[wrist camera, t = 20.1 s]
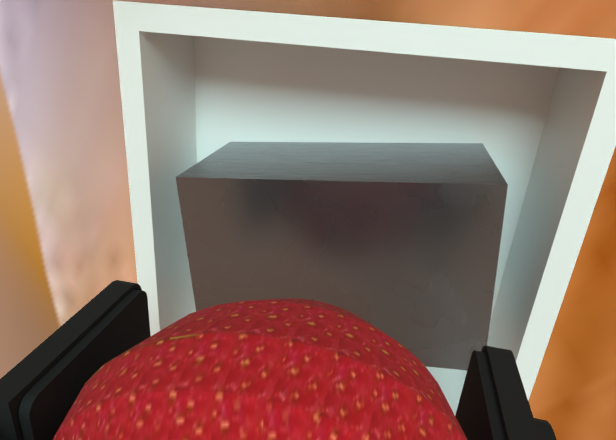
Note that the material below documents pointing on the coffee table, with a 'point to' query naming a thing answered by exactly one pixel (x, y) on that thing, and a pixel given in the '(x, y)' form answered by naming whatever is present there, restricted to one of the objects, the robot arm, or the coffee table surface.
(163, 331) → the strawberry
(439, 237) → the block
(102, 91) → the coffee table surface
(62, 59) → the coffee table surface
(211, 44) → the tote
